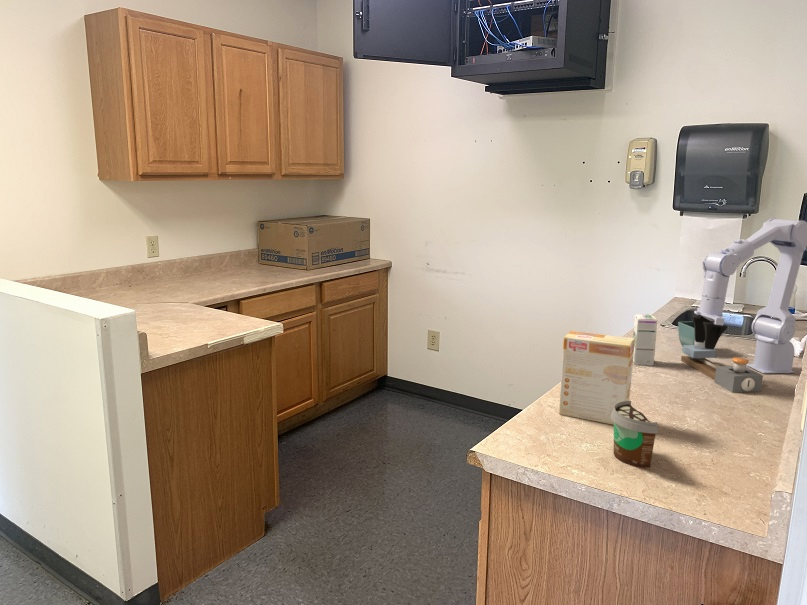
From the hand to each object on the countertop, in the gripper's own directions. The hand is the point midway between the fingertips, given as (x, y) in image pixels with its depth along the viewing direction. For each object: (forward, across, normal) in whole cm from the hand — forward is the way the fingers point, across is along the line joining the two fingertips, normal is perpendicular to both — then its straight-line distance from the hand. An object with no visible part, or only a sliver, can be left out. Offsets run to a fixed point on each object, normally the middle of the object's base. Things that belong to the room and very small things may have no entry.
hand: (704, 345), depth 166 cm
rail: (+9, -10, +6) cm, 15 cm away
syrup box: (+11, -15, -11) cm, 21 cm away
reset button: (+6, +3, +9) cm, 11 cm away
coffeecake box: (+15, +29, -33) cm, 46 cm away
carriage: (+6, -15, +5) cm, 17 cm away
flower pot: (+8, -30, +9) cm, 32 cm away
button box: (+10, +3, +9) cm, 14 cm away
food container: (+15, +50, -30) cm, 60 cm away
